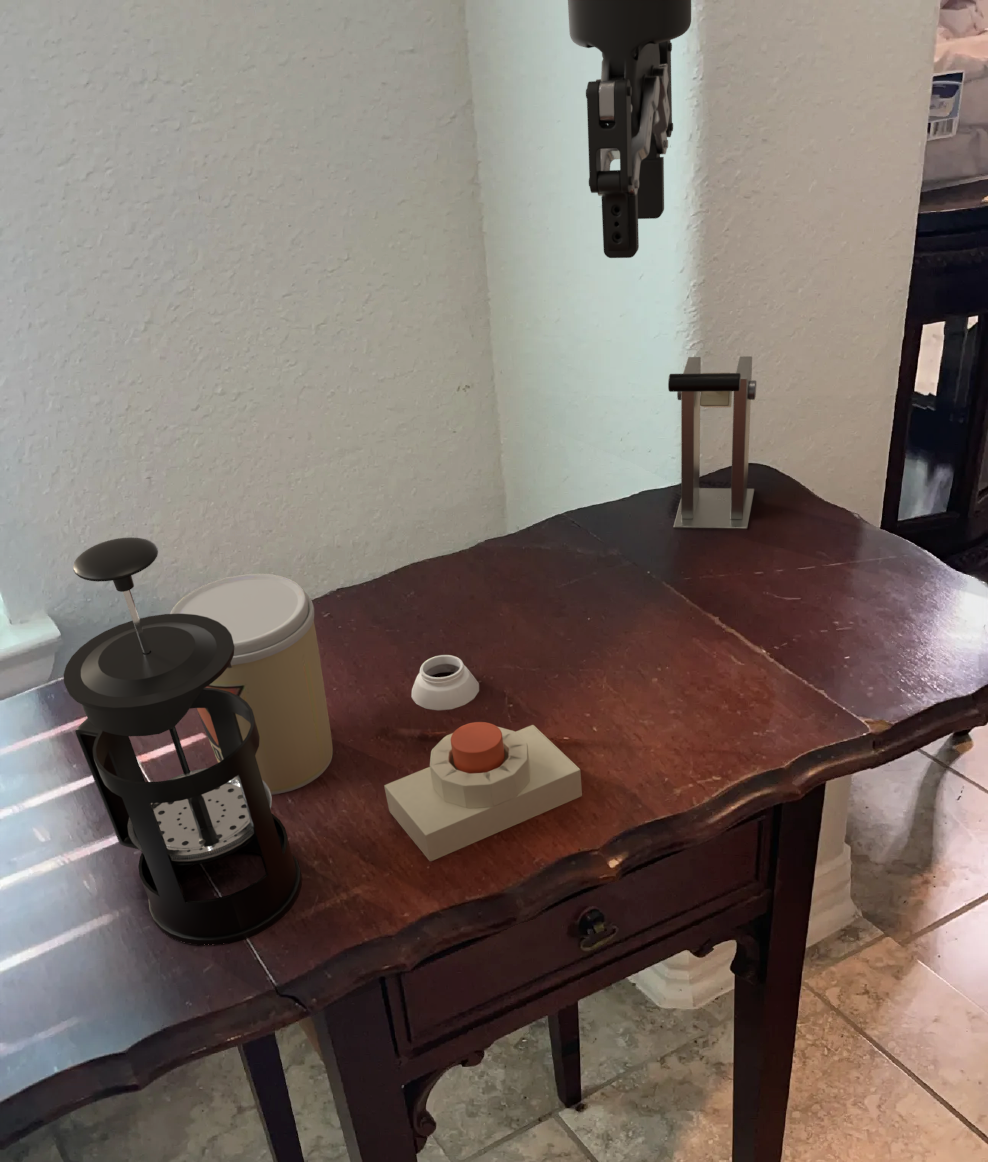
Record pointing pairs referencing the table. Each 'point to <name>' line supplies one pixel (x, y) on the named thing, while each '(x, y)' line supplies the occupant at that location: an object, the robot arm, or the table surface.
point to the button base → (482, 793)
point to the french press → (195, 798)
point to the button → (477, 747)
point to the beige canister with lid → (271, 673)
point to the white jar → (444, 684)
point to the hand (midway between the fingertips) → (635, 235)
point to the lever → (707, 387)
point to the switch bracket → (699, 503)
